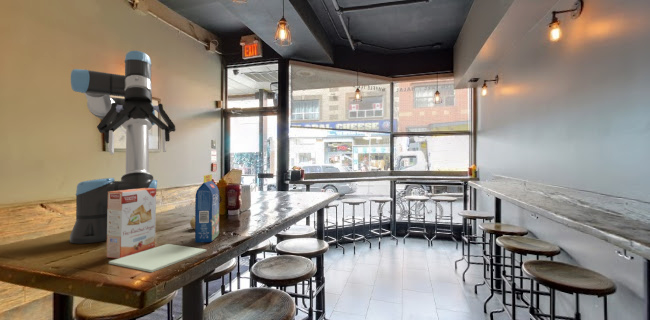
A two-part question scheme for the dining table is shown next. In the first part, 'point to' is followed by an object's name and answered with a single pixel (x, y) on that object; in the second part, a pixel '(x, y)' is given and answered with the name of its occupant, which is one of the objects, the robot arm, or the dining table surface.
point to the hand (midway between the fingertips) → (138, 151)
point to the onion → (192, 223)
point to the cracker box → (130, 221)
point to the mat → (157, 257)
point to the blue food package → (207, 211)
